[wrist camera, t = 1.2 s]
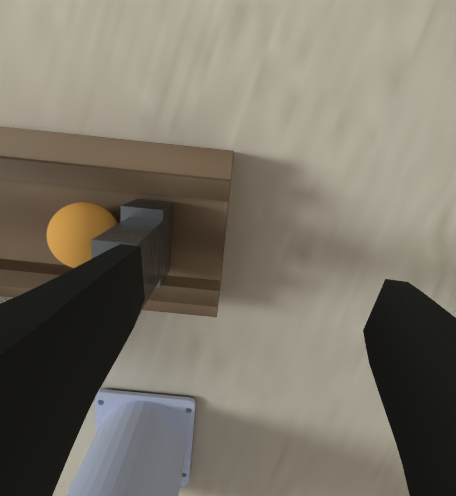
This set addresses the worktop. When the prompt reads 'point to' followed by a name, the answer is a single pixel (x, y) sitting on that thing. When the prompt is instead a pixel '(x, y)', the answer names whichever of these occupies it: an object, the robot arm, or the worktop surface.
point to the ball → (77, 231)
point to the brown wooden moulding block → (113, 206)
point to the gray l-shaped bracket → (143, 238)
